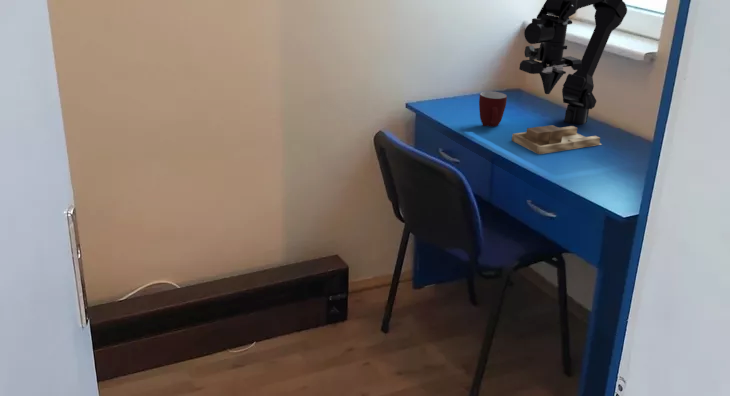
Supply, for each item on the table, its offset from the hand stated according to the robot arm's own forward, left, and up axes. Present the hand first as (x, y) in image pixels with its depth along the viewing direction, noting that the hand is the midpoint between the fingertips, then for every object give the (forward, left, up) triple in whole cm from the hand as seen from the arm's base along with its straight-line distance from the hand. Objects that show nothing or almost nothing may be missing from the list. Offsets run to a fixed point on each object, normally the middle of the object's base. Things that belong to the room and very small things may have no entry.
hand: (546, 93), depth 217 cm
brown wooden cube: (+11, +11, -11) cm, 19 cm away
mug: (+12, -9, -12) cm, 19 cm away
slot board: (+3, +11, -12) cm, 17 cm away
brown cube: (+6, +11, -11) cm, 17 cm away
